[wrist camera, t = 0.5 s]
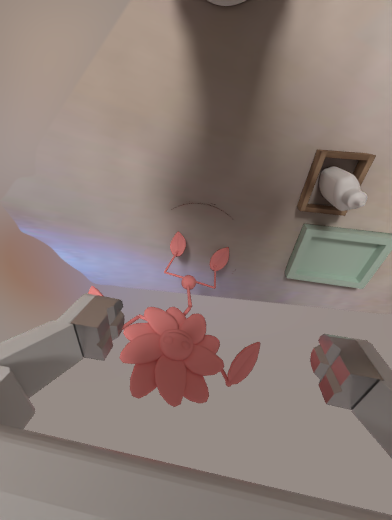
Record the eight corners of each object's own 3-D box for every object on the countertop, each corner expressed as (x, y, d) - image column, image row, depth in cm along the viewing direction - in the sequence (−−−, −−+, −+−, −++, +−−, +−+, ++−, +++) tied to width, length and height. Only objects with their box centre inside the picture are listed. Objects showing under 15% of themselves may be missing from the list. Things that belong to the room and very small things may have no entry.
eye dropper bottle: (310, 195, 38) (335, 220, 29) (323, 164, 35) (357, 180, 25) (333, 198, 38) (367, 225, 28) (349, 167, 35) (393, 184, 25)
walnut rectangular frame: (317, 149, 34) (322, 151, 32) (367, 153, 33) (376, 155, 31) (296, 206, 40) (300, 210, 38) (339, 210, 39) (344, 215, 37)
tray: (284, 271, 49) (286, 278, 47) (303, 223, 42) (307, 228, 40) (357, 281, 47) (363, 288, 45) (391, 233, 40) (399, 239, 38)
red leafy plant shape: (241, 276, 52) (250, 458, 23) (148, 241, 51) (36, 388, 22) (272, 226, 43) (347, 418, 15) (161, 182, 42) (4, 299, 13)
